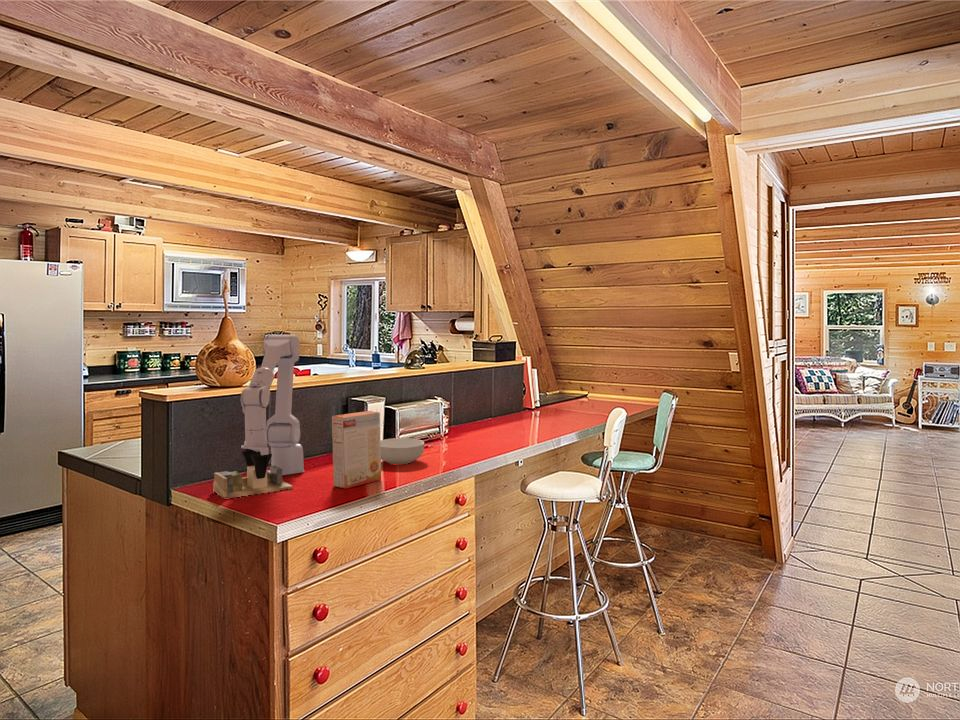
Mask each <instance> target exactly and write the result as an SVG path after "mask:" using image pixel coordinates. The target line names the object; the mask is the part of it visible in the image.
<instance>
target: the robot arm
mask: <svg viewBox="0 0 960 720" xmlns="http://www.w3.org/2000/svg"><path fill="white" fill-rule="evenodd" d="M262 342H263V343H262V345H263V350H264V356H263V359H262V363H261V366H260V367H258V368H256V369H255V371H254V373H253V376H252V377H251V380H250V382H249V384H248V387H247V386H246V387H245V388H244V389H243V390H242V391H241V392H240V393H241V394H240V398H239V399H240V404H241V407H242V413H243V414H244V435H245V436H244V438H245V440H244V441H243V443H244V444H242V445H240V446H241V449H244V450H240V453H241V455H242V457H243V459H244V461H245V462H244V463H245V465H246V467H247V466H254V467H255V473H256V477H257V479H261V478H265V475H266V470H267V474H270V469H269V470H268V466H269V462H271V465H270V466H277V467H280V468H282V476H287V475H288V476H289V475H295V474H301V473H305V472H306V471H305V469H304V465H305V464H304V449H303V446H302V444H300V443H299V441H300V439H301V428H300V426H301V425H300V424H301V423H300V420H299V419H298V418H297V417H296V416H295V415H293V414H292V407H293V406H292V403H293V390H294V389H293V387H294V371H295V370H294V368H295V364H296V362H299V361H300V360H299V359H300V350H301V347H300V346H301V343H300V339H299V337H298V336H297V334H269V333H268V334H266V335H265V337H264V338H263V341H262ZM276 367H277V377H276V391H275V392H276V393H275V394H276V395H275V412H274V414H273V415H272V416H271V417H269V419H267V407H268V405H269V403H270V395H271V391H270V390H271V388H272V385H273V382H274V379H275V373H274V370H275V369H276ZM268 446H269V447H270V448H269V447H268ZM269 449H270V450H269ZM269 451H270V452H269Z"/></svg>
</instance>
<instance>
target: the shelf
mask: <svg viewBox="0 0 960 720" xmlns="http://www.w3.org/2000/svg"><path fill="white" fill-rule="evenodd" d="M213 479H214V480H213V482H212V483H213V485H212V486H213V489H212V490H213V492H214V491H215V492H216V493H217V494H218V495H220V496H221V497H223V498H224V499H226V498H233V497H240V498H242V497H241V496H246V497H249V496H248V495H252V496H255V495H254V494H258V495H262V494H261V493H264V494H268V492H270V493H274V491H276V492H281V491H280V490H282V491H286V489H288V490H293V486H294V485H291V484H290V483H288V482H285V481H284V480H282V484H275V483H273V482H271V481H270V473H267V487H262V488H255V489H253V488H251V487H249V486H247V476H245V477H243V474H242V473H241V472H238V471H237V470H236V471H235V470H234V471H228V470H227V471H220V472H219V471H218V472H213ZM218 495H217V496H218ZM221 497H220V498H221ZM224 499H223V500H224Z"/></svg>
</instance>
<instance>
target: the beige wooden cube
mask: <svg viewBox="0 0 960 720" xmlns="http://www.w3.org/2000/svg"><path fill="white" fill-rule="evenodd" d="M246 470H247V471H246V477H247V486H249V487H251V488H253V489H255V488H262V487H267V474H268V472H267V471H268V469H267V470H266V475H265V478H261V479H257V477H256V473H255V467H254V466H247V465H246Z"/></svg>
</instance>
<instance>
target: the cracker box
mask: <svg viewBox="0 0 960 720" xmlns="http://www.w3.org/2000/svg"><path fill="white" fill-rule="evenodd" d="M380 415H381V413H380V412H379V411H372V410H367V411H366V410H364V411H360V412H357V411H356V412H352V413H344V414H338V415H337V414H336V415H332V416H331V436H332V439H331V441H332V445H331V446H332V467H333V468H332V472H333V477H332V478H333V487H336V488H341V489H345V490H347V489H350V488H355V487H357V486H362V485H366V484H369V483H373V482H377V481H381V480H382V460H381V447H380V441H381V418H380V417H381V416H380Z"/></svg>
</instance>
